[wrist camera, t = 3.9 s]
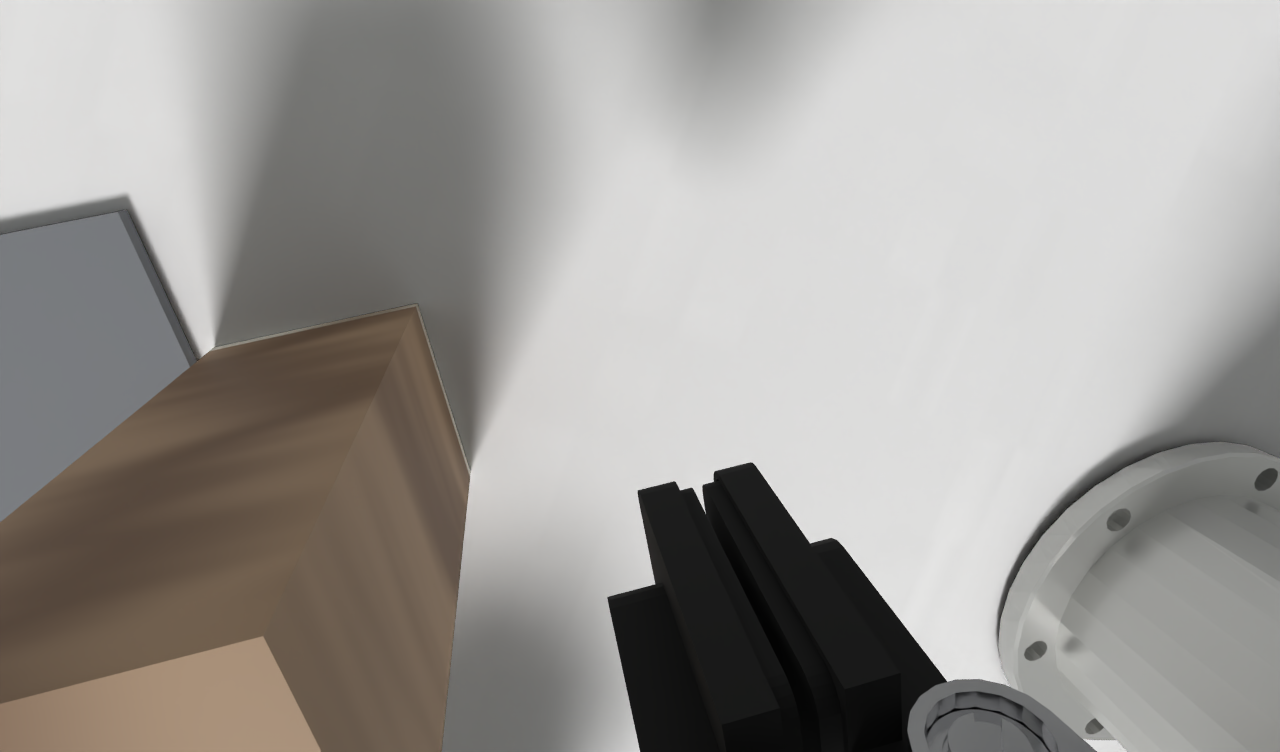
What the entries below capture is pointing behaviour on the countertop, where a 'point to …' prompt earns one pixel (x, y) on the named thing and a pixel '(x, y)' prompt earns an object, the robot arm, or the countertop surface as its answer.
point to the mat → (77, 344)
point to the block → (248, 559)
